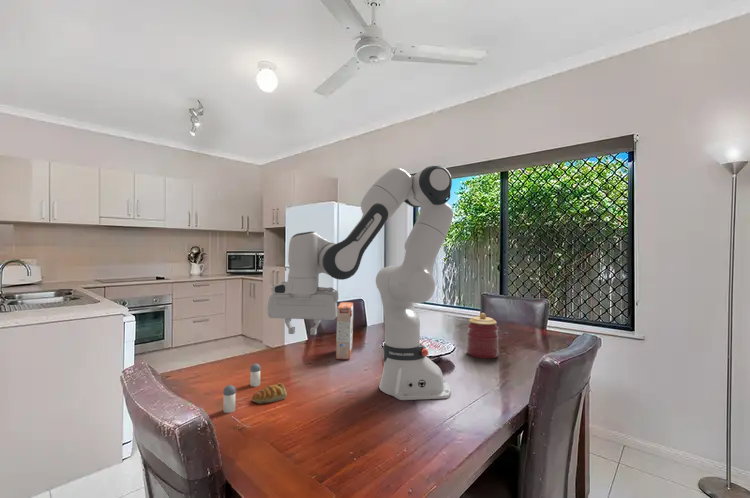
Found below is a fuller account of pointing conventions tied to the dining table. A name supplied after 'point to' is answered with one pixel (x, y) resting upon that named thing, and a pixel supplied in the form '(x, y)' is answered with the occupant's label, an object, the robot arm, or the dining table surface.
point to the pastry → (270, 394)
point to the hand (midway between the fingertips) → (302, 333)
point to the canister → (482, 337)
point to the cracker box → (344, 330)
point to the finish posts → (231, 390)
